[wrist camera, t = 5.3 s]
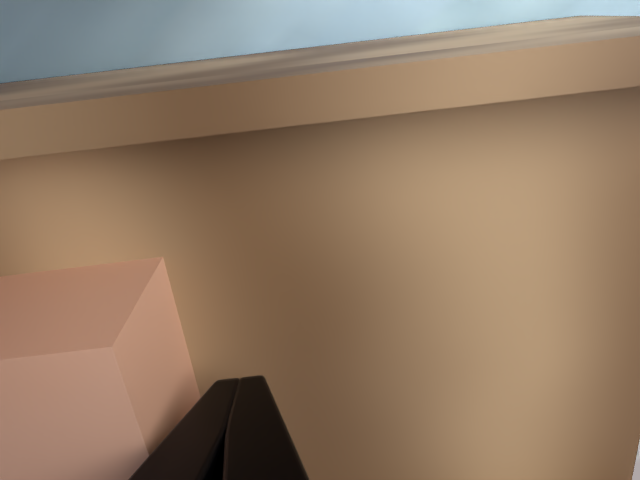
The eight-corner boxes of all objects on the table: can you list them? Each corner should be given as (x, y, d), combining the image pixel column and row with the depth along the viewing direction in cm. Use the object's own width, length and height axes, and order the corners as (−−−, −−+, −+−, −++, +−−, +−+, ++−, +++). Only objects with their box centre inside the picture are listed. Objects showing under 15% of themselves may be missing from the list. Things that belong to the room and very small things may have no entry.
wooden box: (579, 15, 11) (795, 17, 6) (546, 387, 15) (661, 562, 10) (-23, 86, 11) (-266, 140, 6) (105, 436, 15) (16, 629, 10)
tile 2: (162, 256, 8) (112, 347, 6) (216, 457, 10) (193, 584, 8) (-106, 288, 9) (-253, 390, 6) (-5, 483, 10) (-91, 616, 8)
